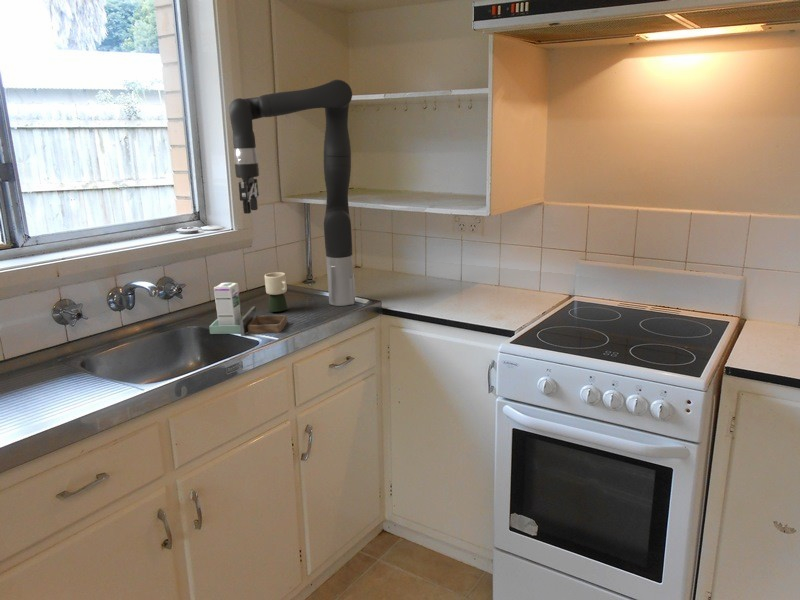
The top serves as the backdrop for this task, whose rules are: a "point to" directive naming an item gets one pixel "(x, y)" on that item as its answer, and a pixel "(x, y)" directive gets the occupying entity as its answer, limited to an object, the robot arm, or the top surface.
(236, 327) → the tray
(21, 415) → the top surface
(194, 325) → the top surface
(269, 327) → the brown wooden tray
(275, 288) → the character mug
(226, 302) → the syrup box
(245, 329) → the door edge plate
